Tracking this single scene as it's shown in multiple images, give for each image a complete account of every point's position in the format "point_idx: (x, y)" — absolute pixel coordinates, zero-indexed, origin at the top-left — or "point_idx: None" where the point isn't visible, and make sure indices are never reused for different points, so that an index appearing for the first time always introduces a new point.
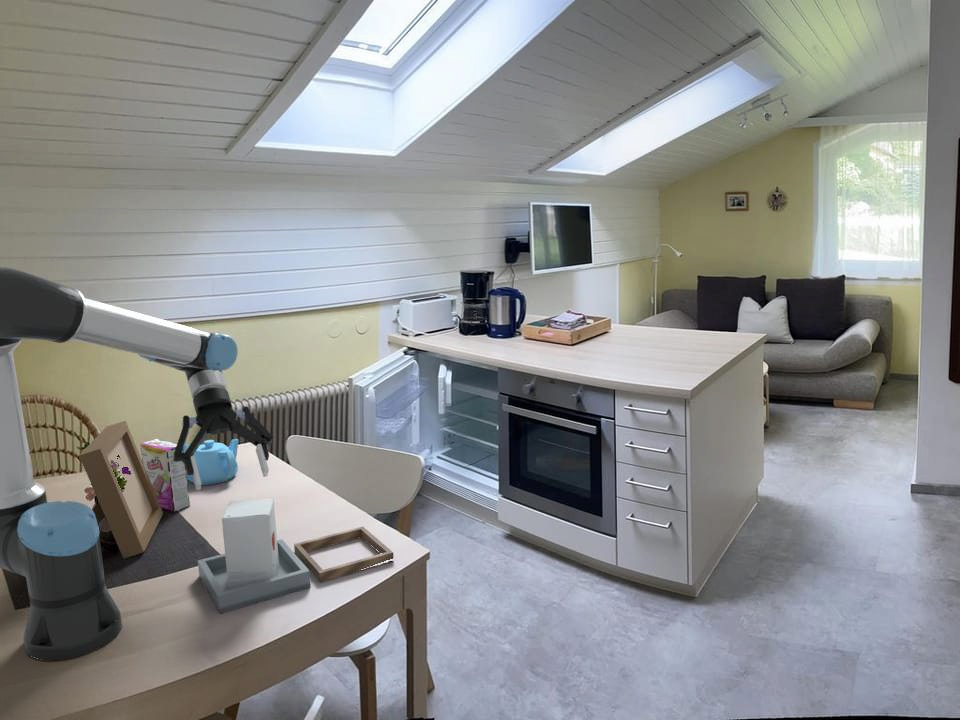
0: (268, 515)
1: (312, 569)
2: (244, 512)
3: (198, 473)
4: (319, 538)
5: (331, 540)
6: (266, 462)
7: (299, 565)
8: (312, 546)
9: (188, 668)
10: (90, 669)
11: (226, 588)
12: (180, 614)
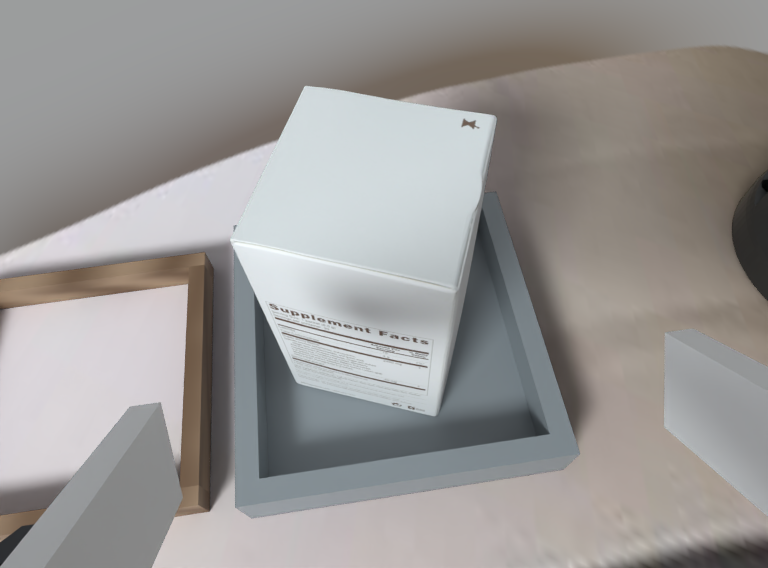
0: (305, 87)
1: (208, 319)
2: (396, 129)
3: (730, 367)
4: None
5: None
6: (98, 447)
7: None
8: None
9: (543, 76)
10: (742, 129)
11: (471, 308)
12: (590, 257)
